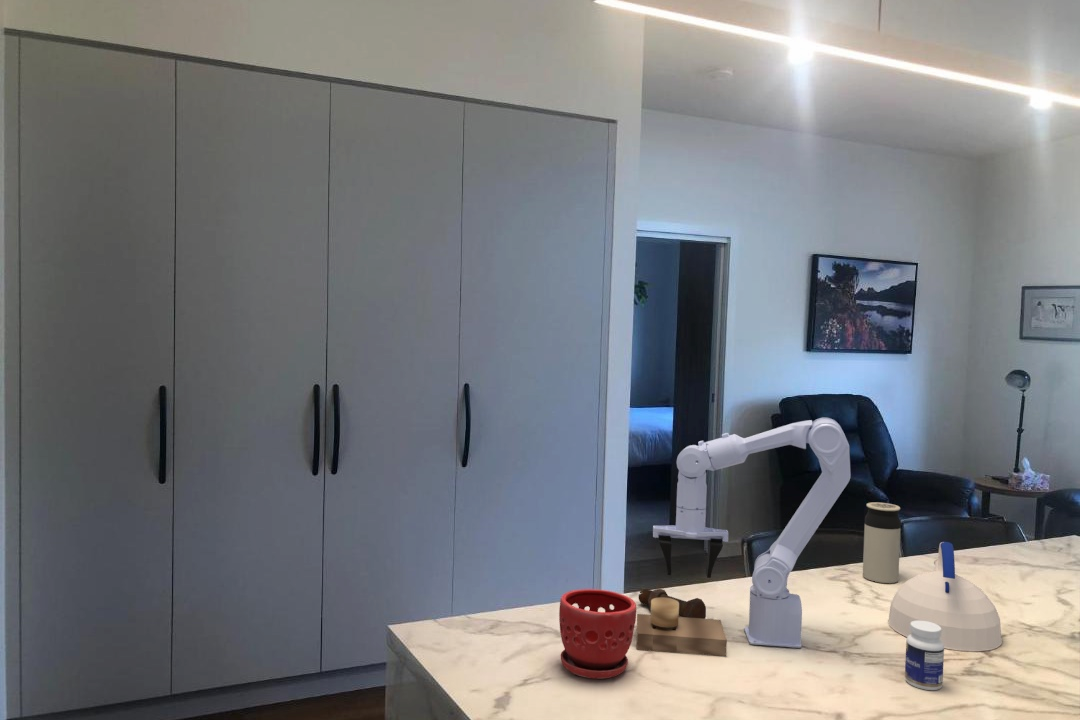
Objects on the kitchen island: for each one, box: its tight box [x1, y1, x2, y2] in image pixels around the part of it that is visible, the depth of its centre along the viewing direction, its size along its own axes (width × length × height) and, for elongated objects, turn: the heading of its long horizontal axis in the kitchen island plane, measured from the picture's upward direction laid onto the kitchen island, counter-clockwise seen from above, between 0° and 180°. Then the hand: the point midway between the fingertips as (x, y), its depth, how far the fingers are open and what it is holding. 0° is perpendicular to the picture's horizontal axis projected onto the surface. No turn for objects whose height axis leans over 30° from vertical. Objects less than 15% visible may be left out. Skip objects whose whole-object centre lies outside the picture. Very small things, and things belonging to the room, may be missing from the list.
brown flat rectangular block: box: [636, 613, 727, 657], centre depth 144 cm, size 16×10×3 cm, turn 83°
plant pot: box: [558, 588, 637, 680], centre depth 131 cm, size 13×13×12 cm
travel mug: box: [862, 501, 902, 584], centre depth 186 cm, size 8×8×18 cm
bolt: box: [638, 588, 707, 619], centre depth 158 cm, size 6×5×15 cm
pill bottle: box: [904, 621, 945, 691], centre depth 129 cm, size 6×6×10 cm
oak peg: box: [650, 597, 680, 630], centre depth 144 cm, size 5×5×8 cm
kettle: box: [887, 541, 1003, 653], centre depth 153 cm, size 20×21×18 cm
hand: (688, 575), depth 151 cm, fingers open, 7 cm apart
